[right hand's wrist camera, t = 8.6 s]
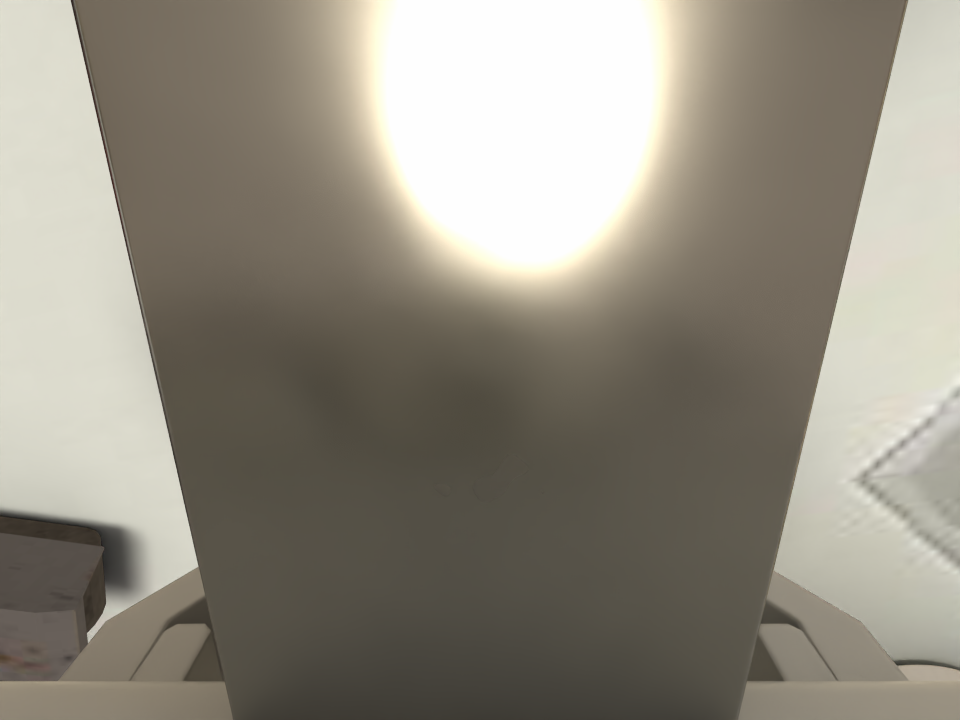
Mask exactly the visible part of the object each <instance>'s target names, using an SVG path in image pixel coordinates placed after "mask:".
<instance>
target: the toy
mask: <svg viewBox="0 0 960 720" xmlns="http://www.w3.org/2000/svg"><path fill="white" fill-rule="evenodd" d="M103 551H104V547H102V546H101V536H100V535H99V534H98V532H97V531H96V530H93V529H90V528H85V527H78V526H70V525H63V524H55V523H48V522H40V521H33V520H25V519H17V518H10V517H2V516H0V681H58V680H59V679H60V678H61V677H62V675H63V674H64V673H65V672H66V670H67V669H68V668H69V667H70V665H71V664H72V663H73V662H74V661H75V659H76V658H77V657H78V656H79V654H80V653H81V652H82V651H83V649H84V648H85V647H86V646H87V644H88V640H87V632H88V631H89V630H90V629H91V628H92V627H93V626H94V625H95V624H96V622H97V621H98V619H99V618H100V616H101V615H102V613H103V610H104V607H105V605H106V594H105V582H104V570H103V559H102V554H103Z"/></svg>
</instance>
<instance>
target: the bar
mask: <svg viewBox="0 0 960 720" xmlns="http://www.w3.org/2000/svg"><path fill="white" fill-rule="evenodd" d="M71 3H72V8H73V12H74V16H75V21H76V25H77V30H78V34H79V39H80V43H81V47H82V52H83V56H84V61H85V65H86V70H87V74H88V78H89V83H90V87H91V92H92V96H93V101H94V105H95V110H96V114H97V118H98V123H99V127H100V132H101V136H102V141H103V145H104V149H105V154H106V158H107V163H108V167H109V172H110V176H111V180H112V185H113V189H114V194H115V198H116V203H117V207H118V211H119V216H120V220H121V225H122V229H123V234H124V238H125V242H126V247H127V251H128V256H129V260H130V265H131V269H132V273H133V278H134V282H135V287H136V291H137V296H138V300H139V304H140V309H141V313H142V318H143V322H144V327H145V331H146V335H147V340H148V344H149V349H150V353H151V358H152V362H153V366H154V371H155V375H156V380H157V384H158V389H159V393H160V397H161V402H162V406H163V411H164V415H165V420H166V424H167V428H168V433H169V437H170V442H171V446H172V451H173V455H174V459H175V464H176V468H177V473H178V477H179V482H180V486H181V490H182V495H183V499H184V504H185V508H186V513H187V517H188V521H189V526H190V530H191V535H192V539H193V544H194V548H195V552H196V557H197V561H198V566H199V570H200V575H201V579H202V583H203V588H204V592H205V597H206V601H207V606H208V610H209V614H210V619H211V623H212V628H213V632H214V637H215V641H216V645H217V650H218V654H219V659H220V663H221V668H222V672H223V677H224V681H225V685H226V690H227V694H228V699H229V703H230V708H231V712H232V716H233V720H738V717H739V713H740V709H741V704H742V700H743V696H744V692H745V688H746V683H747V679H748V675H749V671H750V666H751V662H752V658H753V654H754V650H755V645H756V641H757V637H758V633H759V628H760V624H761V620H762V616H763V611H764V607H765V603H766V599H767V595H768V590H769V586H770V582H771V578H772V573H773V569H774V565H775V561H776V557H777V552H778V548H779V544H780V540H781V535H782V531H783V527H784V523H785V519H786V514H787V510H788V506H789V502H790V497H791V493H792V489H793V485H794V480H795V476H796V472H797V468H798V464H799V459H800V455H801V451H802V447H803V442H804V438H805V434H806V430H807V426H808V421H809V417H810V413H811V409H812V404H813V400H814V396H815V392H816V388H817V383H818V379H819V375H820V371H821V366H822V362H823V358H824V354H825V350H826V345H827V341H828V337H829V333H830V328H831V324H832V320H833V316H834V311H835V307H836V303H837V299H838V295H839V290H840V286H841V282H842V278H843V273H844V269H845V265H846V261H847V257H848V252H849V248H850V244H851V240H852V235H853V231H854V227H855V223H856V219H857V214H858V210H859V206H860V202H861V197H862V193H863V189H864V185H865V180H866V176H867V172H868V168H869V164H870V159H871V155H872V151H873V147H874V142H875V138H876V134H877V130H878V126H879V121H880V117H881V113H882V109H883V104H884V100H885V96H886V92H887V88H888V83H889V79H890V75H891V71H892V66H893V62H894V58H895V54H896V50H897V45H898V41H899V37H900V33H901V28H902V24H903V20H904V16H905V11H906V7H907V3H908V0H71Z"/></svg>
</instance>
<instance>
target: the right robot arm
mask: <svg viewBox="0 0 960 720" xmlns="http://www.w3.org/2000/svg"><path fill="white" fill-rule="evenodd" d="M0 720H233V716H232V712H231V708H230V703H229V699H228V694H227V690H226V685H225V681H224V677H223V672H222V668H221V663H220V659H219V654H218V650H217V645H216V641H215V637H214V632H213V628H212V623H211V619H210V614H209V610H208V606H207V601H206V597H205V592H204V588H203V583H202V579H201V575H200V570H199V567H197V568H196V569H194V570H192V571H191V572H189V573H187V574H185V575H184V576H182V577H180V578H179V579H177V580H175V581H174V582H172V583H170V584H169V585H167V586H165V587H163V588H162V589H160V590H158V591H157V592H155V593H153V594H152V595H150V596H148V597H147V598H145V599H143V600H141V601H140V602H138V603H136V604H135V605H133V606H131V607H130V608H128V609H126V610H124V611H123V612H121V613H119V614H118V615H116V616H114V617H113V618H111V619H109V620H108V621H106V622H105V623H104V625H103V626H102V627H101V628H100V630H99V631H98V632H97V633H96V635H95V636H94V637H93V638H92V639H91V641H90V642H89V643H88V644H87V646H86V647H85V648H84V649H83V651H82V652H81V653H80V654H79V656H78V657H77V658H76V659H75V661H74V662H73V663H72V664H71V665H70V667H69V668H68V669H67V670H66V672H65V673H64V674H63V675H62V677H61V678H60V679H59V680H58V681H0ZM738 720H960V671H959V670H956V669H952V668H947V667H942V666H934V665H899V666H897V665H896V664H895V663H894V661H893V660H892V659H891V658H890V657H889V655H888V654H887V653H886V652H885V650H884V649H883V648H882V647H881V646H880V644H879V643H878V642H877V641H876V639H875V638H874V637H873V636H872V635H871V633H870V632H869V631H868V630H867V628H866V627H865V626H864V625H863V624H862V622H860V621H859V620H857V619H855V618H853V617H852V616H850V615H848V614H847V613H845V612H843V611H841V610H840V609H838V608H836V607H835V606H833V605H831V604H830V603H828V602H826V601H824V600H823V599H821V598H819V597H818V596H816V595H814V594H813V593H811V592H809V591H807V590H806V589H804V588H802V587H801V586H799V585H797V584H795V583H794V582H792V581H790V580H789V579H787V578H785V577H784V576H782V575H780V574H778V573H777V572H775V571H773V573H772V578H771V582H770V586H769V590H768V595H767V599H766V603H765V607H764V611H763V616H762V620H761V624H760V628H759V633H758V637H757V641H756V645H755V650H754V654H753V658H752V662H751V666H750V671H749V675H748V679H747V683H746V688H745V692H744V696H743V700H742V704H741V709H740V713H739V717H738Z"/></svg>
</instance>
